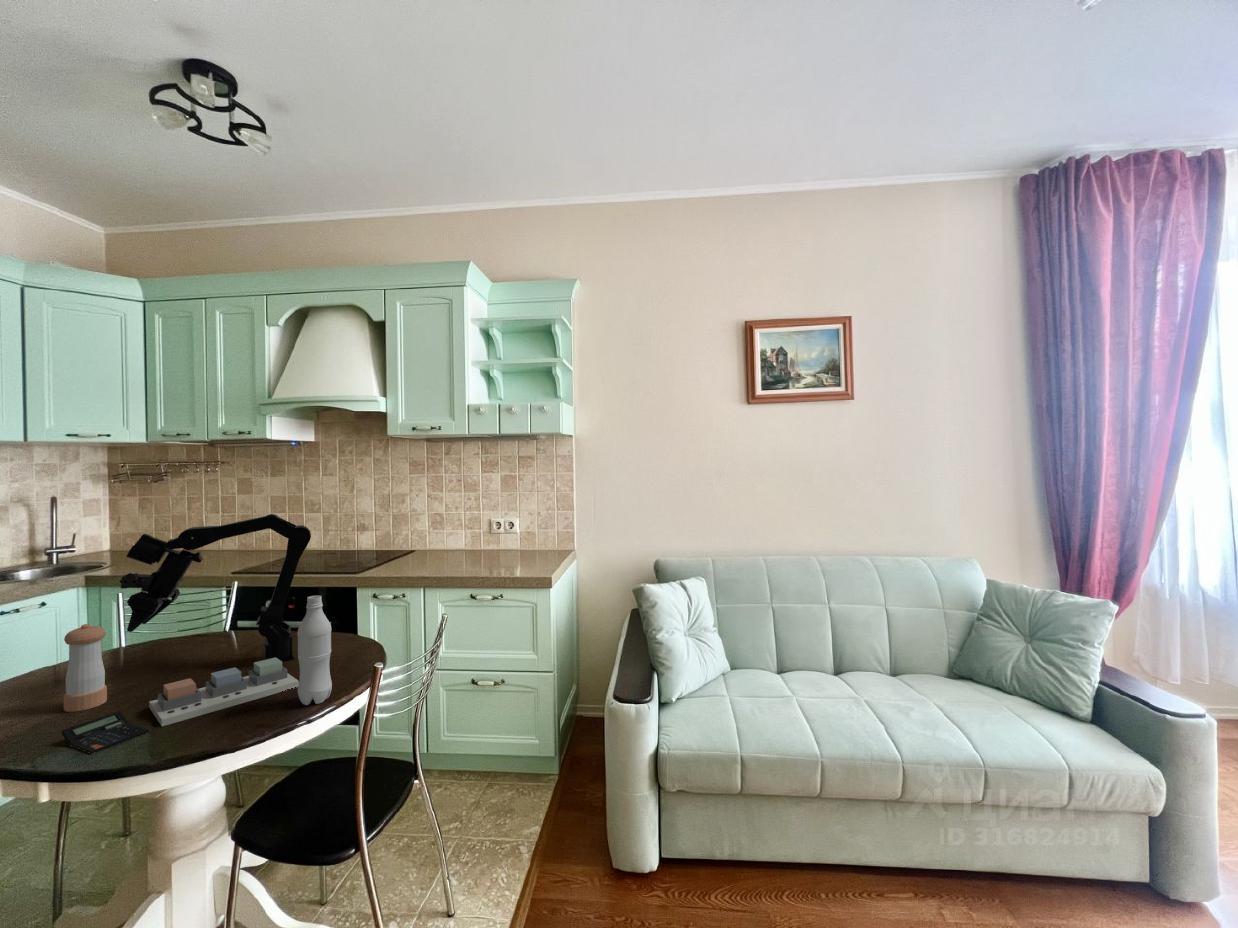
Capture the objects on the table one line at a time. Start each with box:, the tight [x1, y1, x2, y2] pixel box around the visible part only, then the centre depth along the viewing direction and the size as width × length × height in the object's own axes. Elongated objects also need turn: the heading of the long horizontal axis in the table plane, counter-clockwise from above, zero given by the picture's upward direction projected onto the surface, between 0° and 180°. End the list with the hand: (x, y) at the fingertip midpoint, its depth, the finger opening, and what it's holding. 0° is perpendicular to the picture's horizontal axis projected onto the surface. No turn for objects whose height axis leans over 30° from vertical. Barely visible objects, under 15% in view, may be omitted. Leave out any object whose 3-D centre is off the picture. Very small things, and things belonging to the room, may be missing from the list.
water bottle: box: [297, 595, 333, 706], centre depth 129 cm, size 7×7×25 cm
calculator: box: [61, 710, 150, 753], centre depth 112 cm, size 9×12×3 cm
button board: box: [148, 665, 299, 727], centre depth 131 cm, size 27×14×4 cm, turn 140°
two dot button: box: [210, 667, 242, 688], centre depth 132 cm, size 5×5×2 cm
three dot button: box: [163, 678, 197, 701], centre depth 125 cm, size 5×5×2 cm
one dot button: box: [253, 657, 283, 676], centre depth 139 cm, size 5×5×2 cm
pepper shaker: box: [63, 623, 108, 713], centre depth 127 cm, size 7×7×19 cm
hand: (136, 627), depth 140 cm, fingers open, 9 cm apart
